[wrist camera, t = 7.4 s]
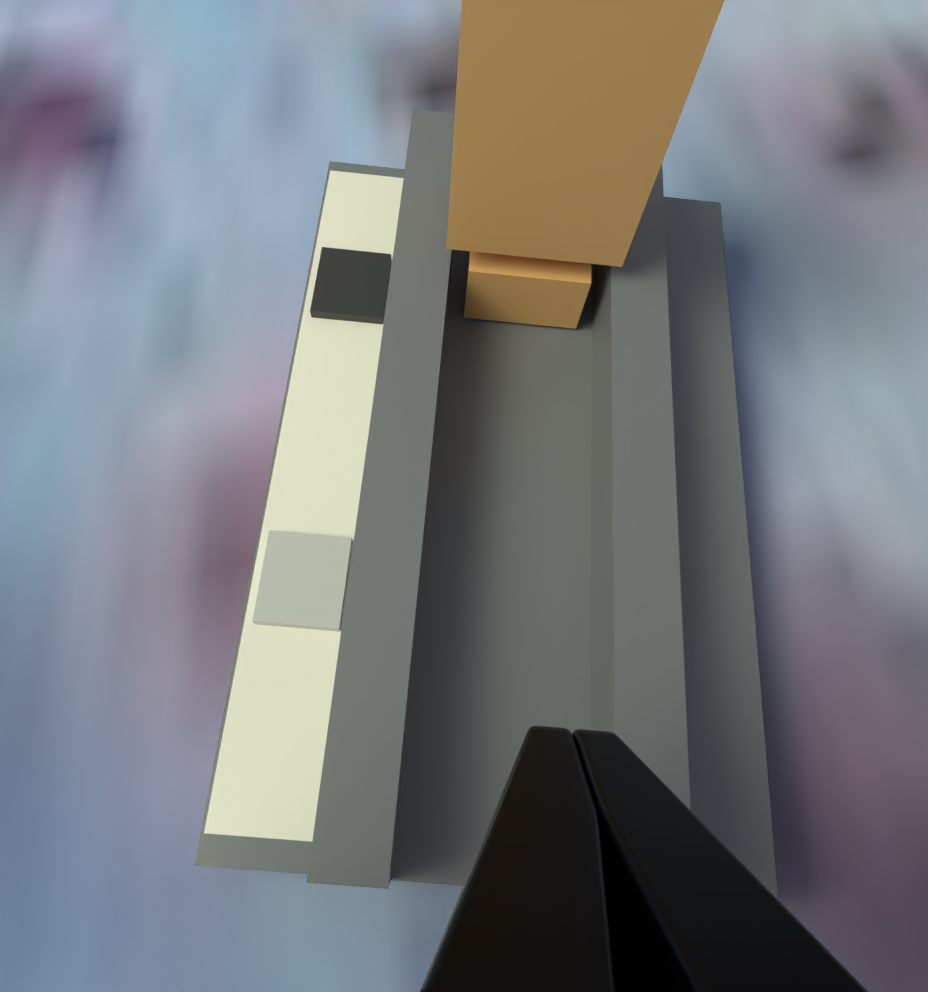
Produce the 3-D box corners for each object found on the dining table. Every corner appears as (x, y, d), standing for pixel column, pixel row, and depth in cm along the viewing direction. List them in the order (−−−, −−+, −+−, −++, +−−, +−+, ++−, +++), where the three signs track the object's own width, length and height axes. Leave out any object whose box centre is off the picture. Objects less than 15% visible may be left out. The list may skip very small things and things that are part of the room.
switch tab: (597, 331, 17) (877, -401, 7) (441, 315, 17) (491, -453, 7) (597, 249, 18) (844, -503, 8) (449, 233, 18) (504, -548, 8)
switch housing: (743, 900, 14) (832, 921, 11) (215, 860, 14) (163, 871, 11) (699, 243, 21) (749, 145, 18) (335, 205, 20) (322, 98, 17)
